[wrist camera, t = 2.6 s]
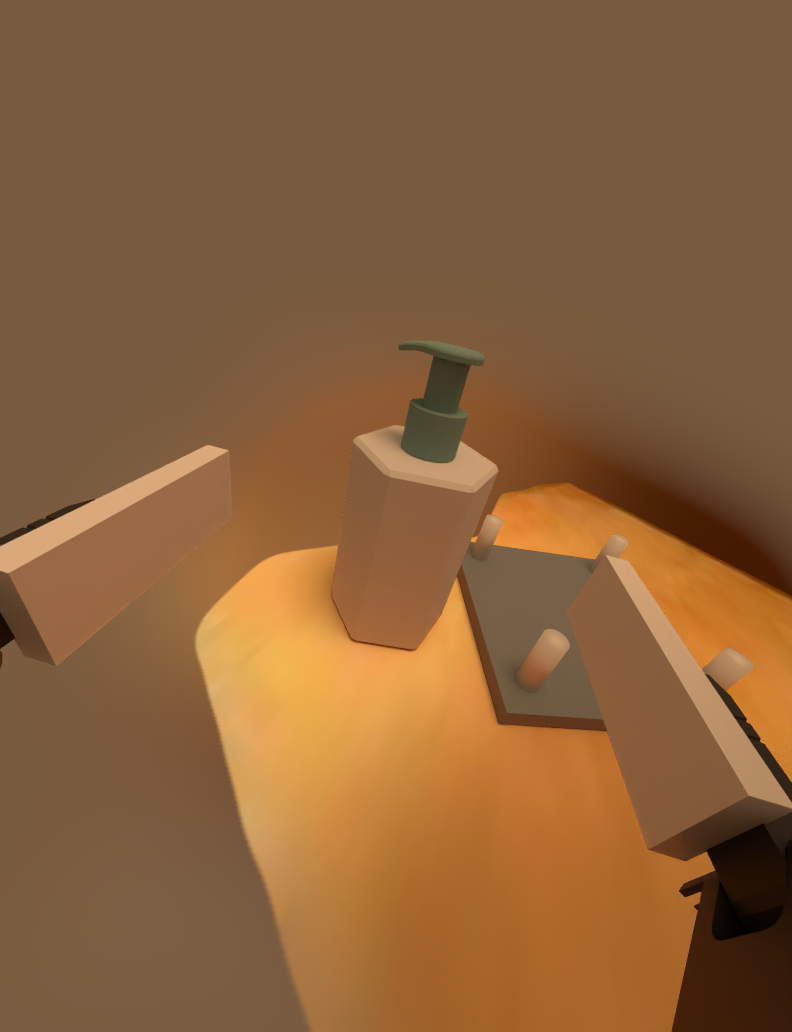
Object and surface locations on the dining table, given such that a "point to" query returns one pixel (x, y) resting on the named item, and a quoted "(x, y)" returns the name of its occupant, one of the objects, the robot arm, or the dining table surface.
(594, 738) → the dining table surface
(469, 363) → the soap bottle
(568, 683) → the plate
